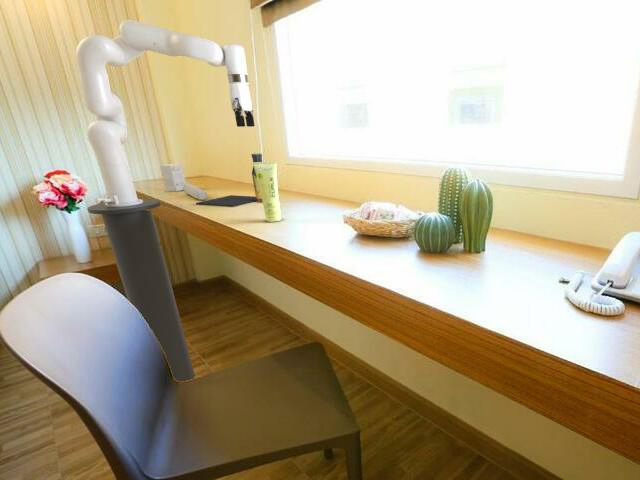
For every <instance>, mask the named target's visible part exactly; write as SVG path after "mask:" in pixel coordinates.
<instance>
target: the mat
mask: <svg viewBox="0 0 640 480" xmlns="http://www.w3.org/2000/svg"><path fill="white" fill-rule="evenodd" d="M253 202H258V201H257V198H256V196H254V195H253V196H251V195H232V194H231V195H230V194H229V195H226V196H222V197H217V198H213V199H207V200H201V201H199V202H195V205H199V206H215V207H229V208H233V207H237V206H241V205H246V204H249V203H253Z"/></svg>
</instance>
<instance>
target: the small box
mask: <svg viewBox="0 0 640 480" xmlns="http://www.w3.org/2000/svg"><path fill="white" fill-rule="evenodd" d="M159 167H160V172H161V176H162V180H163V183H164V188H165V191H166V192H172V193H173V192H176V193H177V192H181V191H183V187H184V185H185V184H187V181H186V177H185V173H184V167H183V164H182V163H169V164H161V165H159Z"/></svg>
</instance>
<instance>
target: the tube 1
mask: <svg viewBox="0 0 640 480" xmlns="http://www.w3.org/2000/svg"><path fill="white" fill-rule="evenodd" d="M182 191H183V193H184V194H186V195H189V196H191V197H192V198H195V199H196V200H198V201H206V199H207V197H208V194H207V191H205V190H203V189H202V188H199V187H197V186H195V185H194V184H192V183H186V184H185V185H184V187H183V190H182Z"/></svg>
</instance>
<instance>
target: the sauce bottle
mask: <svg viewBox="0 0 640 480" xmlns="http://www.w3.org/2000/svg"><path fill="white" fill-rule="evenodd" d="M251 158H252V163H253V162H263V154H262V152H255V153H254V152H253V153H251ZM251 177H252V182H253V183H252V184H253V190H254V195H255V197H256V198H257V201H256V202H258V203H263V201H262V197H261V192H260V188H259V184H258V180H257V176H256V172H255V169H254V166H253V165H252V171H251Z"/></svg>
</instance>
